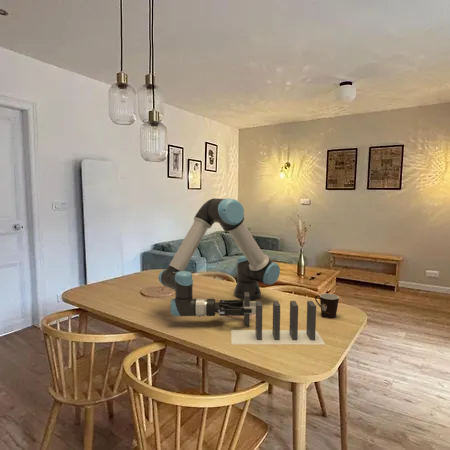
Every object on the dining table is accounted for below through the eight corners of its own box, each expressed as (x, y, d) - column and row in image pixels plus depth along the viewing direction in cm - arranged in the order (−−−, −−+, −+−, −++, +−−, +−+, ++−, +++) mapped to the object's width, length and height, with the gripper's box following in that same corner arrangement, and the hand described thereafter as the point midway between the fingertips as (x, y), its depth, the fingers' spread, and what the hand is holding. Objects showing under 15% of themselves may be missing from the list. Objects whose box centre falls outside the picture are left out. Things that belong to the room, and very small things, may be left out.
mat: (231, 331, 138) (231, 329, 138) (316, 331, 138) (316, 330, 138) (231, 345, 125) (231, 344, 125) (325, 345, 125) (325, 344, 125)
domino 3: (274, 340, 128) (275, 305, 127) (272, 333, 134) (273, 300, 133) (279, 340, 128) (280, 305, 127) (277, 333, 134) (277, 300, 133)
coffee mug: (341, 319, 150) (342, 298, 149) (324, 321, 149) (324, 299, 148) (329, 310, 162) (330, 291, 161) (313, 311, 160) (313, 292, 159)
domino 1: (244, 327, 141) (245, 296, 140) (244, 322, 147) (244, 292, 146) (249, 327, 141) (249, 296, 140) (248, 322, 147) (248, 292, 146)
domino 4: (292, 340, 128) (293, 305, 127) (289, 333, 134) (290, 300, 133) (297, 340, 128) (298, 305, 127) (294, 333, 134) (295, 300, 133)
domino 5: (310, 340, 128) (311, 305, 127) (306, 333, 134) (307, 300, 133) (315, 340, 128) (316, 305, 127) (311, 333, 134) (312, 300, 133)
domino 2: (256, 340, 128) (257, 305, 127) (255, 333, 134) (255, 300, 133) (261, 340, 128) (262, 305, 127) (260, 333, 134) (260, 300, 133)
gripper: (207, 307, 154) (256, 308, 153) (204, 324, 135) (260, 324, 134) (207, 292, 153) (256, 292, 153) (204, 306, 134) (260, 306, 134)
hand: (258, 307), depth 144 cm, fingers open, 6 cm apart
